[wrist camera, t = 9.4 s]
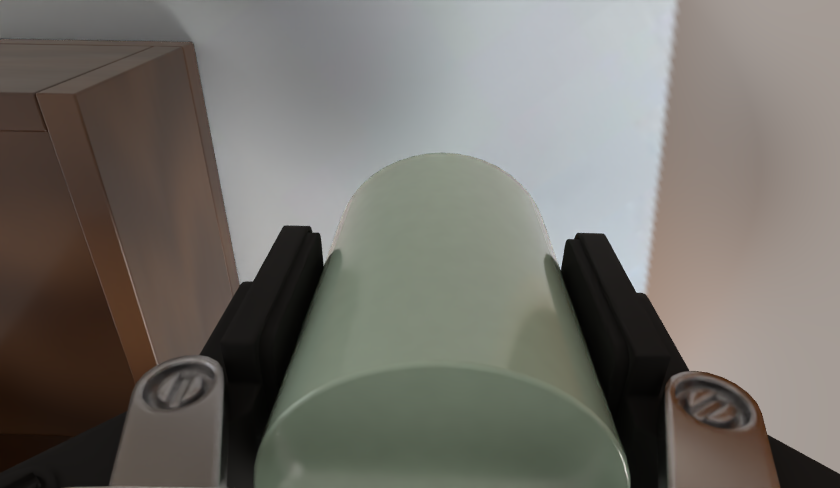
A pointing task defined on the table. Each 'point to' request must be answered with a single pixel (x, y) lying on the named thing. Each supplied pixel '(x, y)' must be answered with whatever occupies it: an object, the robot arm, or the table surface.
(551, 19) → the table surface
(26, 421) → the wooden box
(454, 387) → the jar
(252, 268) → the table surface
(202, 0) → the table surface
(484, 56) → the table surface
